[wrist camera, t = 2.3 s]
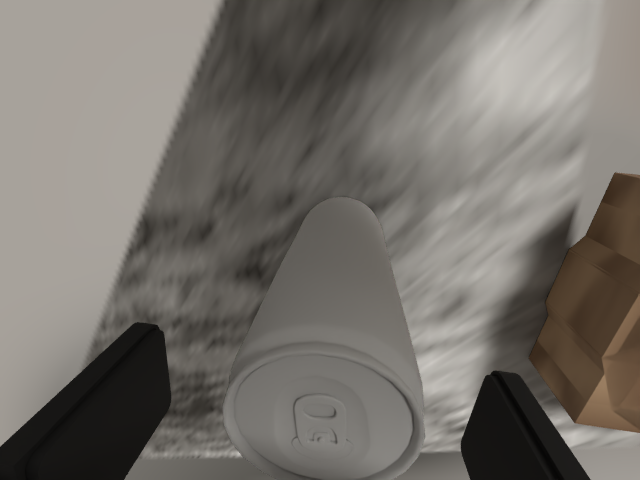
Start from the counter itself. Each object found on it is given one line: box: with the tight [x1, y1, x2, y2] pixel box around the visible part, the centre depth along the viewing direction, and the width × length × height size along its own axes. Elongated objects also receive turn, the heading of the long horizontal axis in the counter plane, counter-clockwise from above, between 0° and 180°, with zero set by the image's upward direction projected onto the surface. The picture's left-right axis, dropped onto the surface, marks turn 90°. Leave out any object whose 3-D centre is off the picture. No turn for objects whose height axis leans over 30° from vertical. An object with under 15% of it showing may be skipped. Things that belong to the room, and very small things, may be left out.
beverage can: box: [222, 197, 425, 480], centre depth 12 cm, size 5×5×12 cm
